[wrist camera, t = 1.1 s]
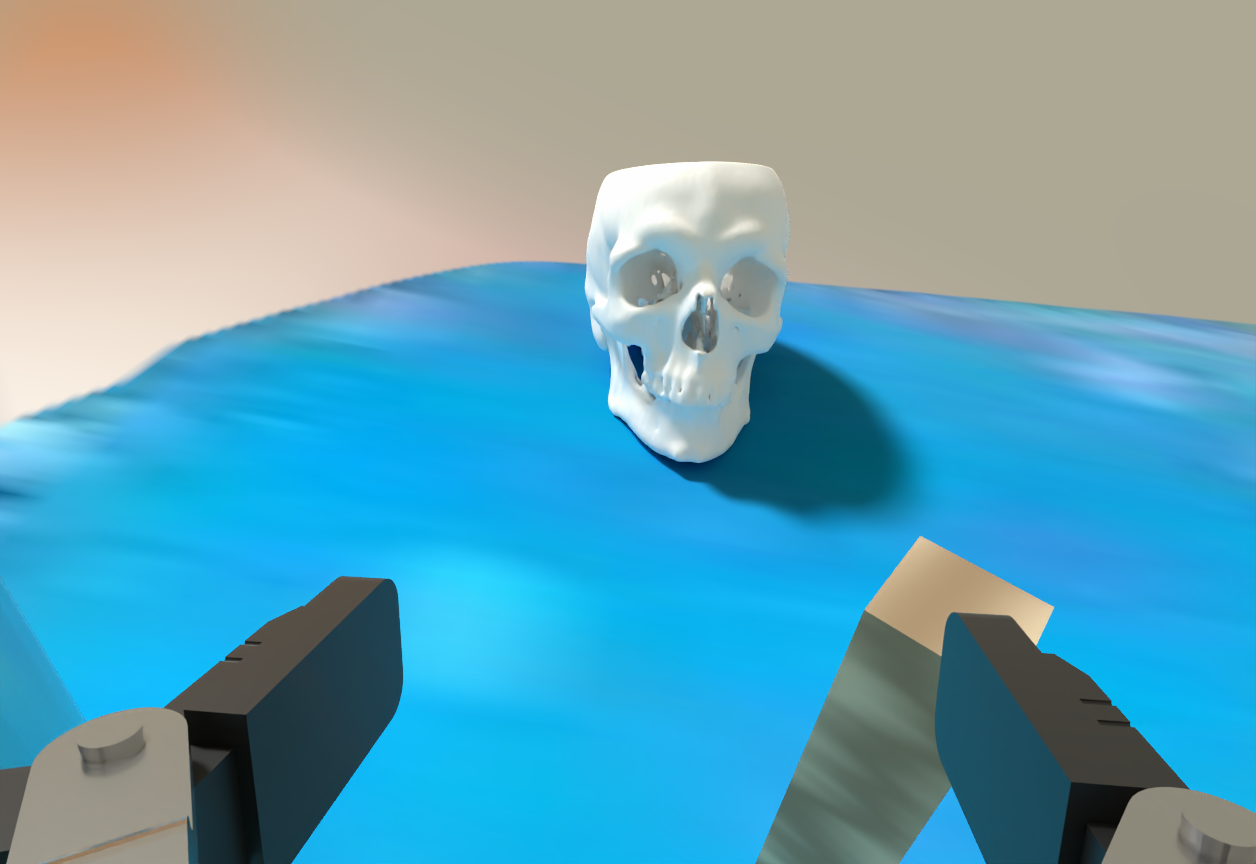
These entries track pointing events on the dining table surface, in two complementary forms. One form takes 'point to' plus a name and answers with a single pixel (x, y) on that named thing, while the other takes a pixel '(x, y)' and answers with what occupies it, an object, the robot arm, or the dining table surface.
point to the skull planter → (687, 296)
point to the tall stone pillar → (887, 717)
